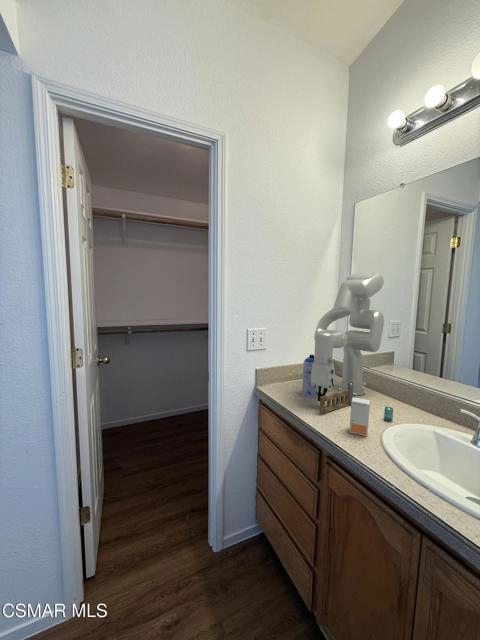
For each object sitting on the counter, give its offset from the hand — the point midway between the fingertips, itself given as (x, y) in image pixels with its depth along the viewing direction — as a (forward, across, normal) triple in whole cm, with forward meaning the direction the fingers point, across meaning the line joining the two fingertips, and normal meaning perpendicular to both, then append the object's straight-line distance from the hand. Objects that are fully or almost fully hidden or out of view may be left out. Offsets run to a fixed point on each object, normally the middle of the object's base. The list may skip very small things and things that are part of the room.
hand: (321, 401), depth 121 cm
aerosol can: (+3, +12, -7) cm, 15 cm away
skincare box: (+3, -22, +7) cm, 23 cm away
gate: (+2, -5, -2) cm, 6 cm away
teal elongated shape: (+3, -15, -13) cm, 20 cm away
